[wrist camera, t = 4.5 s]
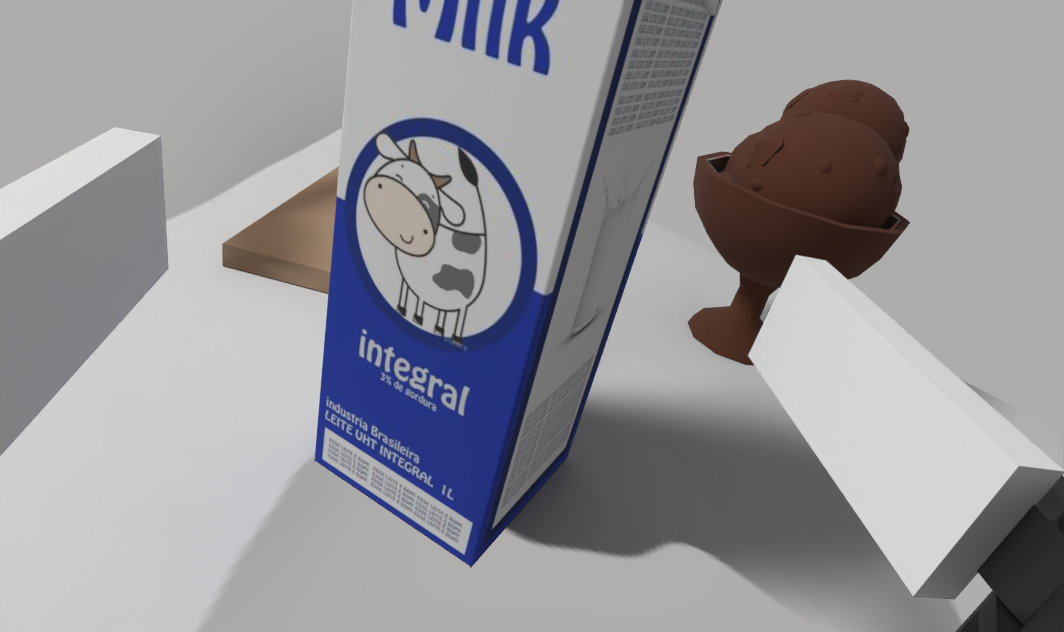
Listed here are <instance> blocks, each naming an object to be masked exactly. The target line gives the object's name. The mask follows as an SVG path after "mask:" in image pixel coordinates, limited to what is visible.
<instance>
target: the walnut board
mask: <svg viewBox="0 0 1064 632" xmlns="http://www.w3.org/2000/svg"><path fill="white" fill-rule="evenodd" d="M338 173H339V167H337V168H336V169H334V170H333V171H331V172H330V173H328V174H327V175H325V176H324V177H322V178H321V179H319V180H318V181H316V182H315V183H313V184H312V185H310V186H309V187H307V188H306V189H304V190H303V191H301V192H299V193H298V194H296V195H295V196H293V197H292V198H290V199H289V200H287V201H286V202H284V203H283V204H281V205H280V206H278V207H277V208H275V209H274V210H272V211H271V212H269V213H268V214H266V215H265V216H263V217H262V218H260V219H259V220H257V221H256V222H254V223H253V224H251V225H250V226H248V227H247V228H245V229H244V230H242V231H241V232H239V233H238V234H236V235H235V236H233V237H232V238H230V239H229V240H227V241H226V242H224V243H223V244H222V245H223V266H227V267H230V268H234V269H238V270H242V271H246V272H249V273H253V274H257V275H261V276H265V277H268V278H272V279H276V280H280V281H284V282H287V283H291V284H295V285H299V286H303V287H306V288H310V289H314V290H318V291H322V292H325V293H329V282H330V270H331V258H332V246H333V234H334V222H335V210H336V198H337V185H338Z"/></svg>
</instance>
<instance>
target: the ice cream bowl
mask: <svg viewBox="0 0 1064 632" xmlns="http://www.w3.org/2000/svg"><path fill="white" fill-rule="evenodd" d="M908 133H909V127H908V125H907V123H906V122H905V121H904V115H903V112H902V110H901V109H900V107H899V106H898V104H897V102H896V101H895V99H894V98H892V97H891V96H890V95H888V94H887V93H885V92H884V91H882V90H881V89H880V88H878V87H876V86H874V85H872V84H869V83H866V82H862V81H857V80H841V81H833V82H828V83H824V84H821V85H818V86H816V87H814V88H810V89H806V90H805V91H803V92H801V93H800V94H799V95H798V96H796V97H795V98H794V99H792V100H791V101H790V102H789V103H788V104H787V106H786V108H785V110H784V112H783V115H782V117H781V119H780V120H779V121H777V122H775V123H773V124H771V125H769V126H766V127H765V128H764V129H763V130H762V131H760V132H758V133H755V134H752V135H749V136H748V137H747V138H746V139H745V140H744V141H742V142H741V143H740V144H739V145H738V146H737V147H736V148H735V149H734V151H733V152H732V153H729V152H718V153H713V154H708V155H703V156H699V157H698V158H697V164H696V171H695V177H694V183H693V185H694V196H695V208H696V210H697V212H698V214H699V217H700V219H701V221H702V223H703V225H704V228H705V230H706V232H707V234H708V236H709V237H710V239H711V241H712V242H713V244H714V246H715V247H716V249H717V250H718V252H719V253H720V254H721V256H722V257H723V258H724V260H725V261H726V262H727V264H729V265H730V266H731V267H733V268H734V269H735V270H737V271H738V272H739V273H740V287H739V289H738V291H737V293H736V295H735V297H734V299H733V301H732V304H731V306H729V307H714V308H703V309H702V310H700V311H699V312H698V313H696V314H695V315H693V317H692V318H691V319H690V320H689V321H688V324H689V327H690V329H691V332H692V334H693V337H694V338H696V339H697V340H698V341H700V342H701V343H703V344H704V345H705V346H707V347H708V348H709V349H711V350H712V351H713V352H715V353H716V354H719V355H722V356H724V357H727V358H730V359H733V360H735V361H738V362H741V363H744V364H753V362H752V361H751V359H750V358H749V356H748V355H749V352H750V350H751V348H752V346H753V344H754V342H755V340H756V338H757V336H758V334H759V331H760V329H761V327H762V325H763V322H762V321H761V319H760V316H761V314H762V311H763V309H764V307H765V304H766V302H767V300H768V297H769V295H771V294H772V293H773V292H774V291H775V290H776V289H777V288H780V287H781V285H782V283H783V281H784V279H785V277H786V275H787V273H788V270H789V268H790V266H791V264H792V262H793V260H794V258H795V256H796V255H799V256H804V257H810V258H815V259H820V260H826V261H827V262H828V263H829V264H830V265H832V266H833V267H834V268H835V269H836V270H837V271H838V272H840V273H841V274H842V275H843V276H844V277H845V278H846V279H847V280H848V279H851V278H854V277H857V276H859V275H860V274H861V273H863V272H864V271H866V270H867V269H868V268H869V267H871V266H872V265H873V264H874V263H876V262H877V261H879V260H880V259H881V258H882V257H883V255H884V254H885V253H886V252H887V251H888V249H889V248H890V247H891V246H892V244H893V243H894V242H895V241H896V240H897V238H898V237H899V236H900V235H901V234H902V232H903V231H904V230H905V229H906V227H907V226H908V224H910V222H909V221H908V220H906V219H905V218H903V217H902V216H901V215H899V214H898V213H897V212H895V209H896V207H897V204H898V201H899V198H900V195H901V189H902V184H901V180H900V175H899V162H900V161H901V160H902V157H903V153H904V149H905V144H906V137H907V136H908ZM753 365H754V364H753Z"/></svg>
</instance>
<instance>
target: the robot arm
mask: <svg viewBox="0 0 1064 632" xmlns="http://www.w3.org/2000/svg"><path fill="white" fill-rule="evenodd" d="M167 270H168V253H167V235H166V217H165V202H164V183H163V165H162V148H161V136H159V135H154V134H148V133H143V132H138V131H133V130H127V129H122V128H117V127H115V128H113V129H111V130H109V131H107V132H105V133H104V134H102V135H100V136H98V137H96V138H94V139H92V140H90V141H89V142H87V143H85V144H83V145H81V146H79V147H77V148H76V149H74V150H72V151H70V152H68V153H66V154H65V155H63V156H61V157H59V158H57V159H55V160H53V161H51V162H50V163H48V164H46V165H44V166H42V167H41V168H38V169H37V170H35V171H33V172H31V173H29V174H27V175H25V176H24V177H22V178H20V179H18V180H17V181H14V182H13V183H11V184H9V185H7V186H5V187H3V188H1V189H0V456H1V455H2V454H3V453H4V451H5V450H6V449H7V448H8V447H9V446H10V445H11V444H12V442H13V441H14V440H15V439H16V438H17V437H18V436H19V435H20V434H21V432H22V431H23V430H24V429H25V428H26V427H27V426H28V425H29V423H30V422H31V421H32V420H33V419H34V418H35V417H36V416H37V415H38V413H39V412H40V411H41V410H42V409H43V408H44V407H45V406H46V405H47V403H48V402H49V401H50V400H51V399H52V398H53V397H54V396H55V394H56V393H57V392H58V391H59V390H60V389H61V388H62V387H63V386H64V384H65V383H66V382H67V381H68V380H69V379H70V378H71V377H72V376H73V374H74V373H75V372H76V371H77V370H78V369H79V368H80V367H81V365H82V364H83V363H84V362H85V361H86V360H87V359H88V358H89V357H90V355H91V354H92V353H93V352H94V351H95V350H96V349H97V348H98V347H99V345H100V344H101V343H102V342H103V341H104V340H105V339H106V338H107V336H108V335H109V334H110V333H111V332H112V331H113V330H114V329H115V328H116V326H117V325H118V324H119V323H120V322H121V321H122V320H123V319H124V318H125V316H126V315H127V314H128V313H129V312H130V311H131V310H132V309H133V307H134V306H135V305H136V304H137V303H138V302H139V301H140V300H141V299H142V297H143V296H144V295H145V294H146V293H147V292H148V291H149V290H150V288H151V287H152V286H153V285H154V284H155V283H156V282H157V281H158V280H159V278H160V277H161V276H162V275H163V274H164V273H165V272H166V271H167ZM748 356H749V358H750V359H751V361H752V362H753V364H754V365H755V367H756V368H757V369H758V371H759V372H760V374H761V375H762V377H763V378H764V380H765V381H766V383H767V384H768V385H769V387H770V388H771V390H772V391H773V393H774V394H775V396H776V397H777V399H778V400H779V401H780V403H781V404H782V406H783V407H784V409H785V410H786V412H787V413H788V415H789V416H790V418H791V419H792V420H793V422H794V423H795V425H796V426H797V428H798V429H799V431H800V432H801V434H802V435H803V436H804V438H805V439H806V441H807V442H808V444H809V445H810V447H811V448H812V450H813V451H814V452H815V454H816V455H817V457H818V458H819V460H820V461H821V463H822V464H823V466H824V467H825V469H826V470H827V471H828V473H829V474H830V476H831V477H832V479H833V480H834V482H835V483H836V485H837V486H838V487H839V489H840V490H841V492H842V493H843V495H844V496H845V498H846V499H847V501H848V502H849V503H850V505H851V506H852V508H853V509H854V511H855V512H856V514H857V515H858V517H859V518H860V520H861V521H862V522H863V524H864V525H865V527H866V528H867V530H868V531H869V533H870V534H871V536H872V537H873V538H874V540H875V541H876V543H877V544H878V546H879V547H880V549H881V550H882V552H883V553H884V554H885V556H886V557H887V559H888V560H889V562H890V563H891V565H892V566H893V568H894V569H895V571H896V572H897V573H898V575H899V576H900V578H901V579H902V581H903V582H904V584H905V585H906V587H907V588H908V589H909V591H910V592H911V594H912V595H913V596H915V597H929V598H943V599H955V598H956V597H957V596H958V595H959V594H960V593H961V591H962V590H963V589H964V588H965V587H966V586H967V585H968V583H969V582H970V581H971V580H972V579H973V578H974V576H975V575H976V574H977V573H979V574H980V575H981V576H982V578H983V579H984V580H985V581H986V583H987V584H988V585H989V586H990V587H991V589H992V590H993V591H992V592H991V593H990V594H989V595H988V596H987V597H986V598H985V600H984V601H983V602H982V603H981V604H980V605H979V606H978V608H977V609H976V610H975V611H974V612H973V613H972V614H971V615H970V616H969V617H968V619H967V620H966V621H965V622H964V623H963V624H962V625H961V626H960V627H959V629H958V630H957V631H956V632H1064V477H1063V476H1062V474H1063V473H1064V470H1063V469H1062V468H1061V467H1059V466H1058V465H1057V464H1056V463H1055V462H1054V461H1053V460H1051V459H1050V458H1049V457H1048V456H1047V455H1046V454H1045V453H1044V452H1042V451H1041V450H1040V449H1039V448H1038V447H1037V446H1036V445H1034V444H1033V443H1032V442H1031V441H1030V440H1029V439H1028V438H1027V437H1025V436H1024V435H1023V434H1022V433H1021V432H1020V431H1019V430H1017V429H1016V428H1015V427H1014V426H1013V425H1012V424H1011V423H1010V422H1008V421H1007V420H1006V419H1005V418H1004V417H1003V416H1002V415H1000V414H999V413H998V412H997V411H996V410H995V409H994V408H993V407H991V406H990V405H989V404H988V403H987V402H986V401H985V400H983V399H982V398H981V397H980V396H979V395H978V394H977V393H976V392H974V391H973V390H972V389H971V388H970V387H969V386H968V385H966V384H965V383H964V382H963V381H962V380H961V379H960V378H959V377H957V376H956V375H955V374H954V373H953V372H952V371H951V370H949V369H948V368H947V367H946V366H945V365H944V364H943V363H941V362H940V361H939V360H938V359H937V358H936V357H935V356H934V355H932V354H931V353H930V352H929V351H928V350H927V349H926V348H924V347H923V346H922V345H921V344H920V343H919V342H918V341H917V340H915V339H914V338H913V337H912V336H911V335H910V334H909V333H908V332H906V331H905V330H904V329H903V328H902V327H901V326H900V325H898V324H897V323H896V322H895V321H894V320H893V319H892V318H891V317H889V316H888V315H887V314H886V313H885V312H884V311H883V310H881V309H880V308H879V307H878V306H877V305H876V304H875V303H874V302H872V301H871V300H870V299H869V298H868V297H867V296H866V295H864V294H863V293H862V292H861V291H860V290H859V289H857V288H856V287H855V286H854V285H853V284H852V283H851V282H850V281H849V280H847V279H846V278H845V277H844V276H843V275H842V274H841V273H840V272H838V271H837V270H836V269H835V268H834V267H833V266H832V265H830V264H829V263H828V262H827V261H826V260H820V259H815V258H810V257H804V256H799V255H796V256H795V258H794V260H793V262H792V264H791V266H790V268H789V270H788V273H787V275H786V277H785V279H784V281H783V283H782V285H781V287H780V289H779V291H778V294H777V296H776V298H775V300H774V302H773V304H772V306H771V308H770V310H769V312H768V315H767V317H766V319H765V321H764V323H763V325H762V327H761V329H760V331H759V334H758V336H757V338H756V340H755V342H754V344H753V346H752V348H751V350H750V352H749V355H748Z"/></svg>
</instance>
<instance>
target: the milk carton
mask: <svg viewBox="0 0 1064 632" xmlns="http://www.w3.org/2000/svg"><path fill="white" fill-rule="evenodd" d="M721 3H722V0H353V4H352V16H351V28H350V41H349V53H348V64H347V77H346V89H345V101H344V113H343V125H342V137H341V149H340V161H339V173H338V185H337V198H336V210H335V222H334V234H333V246H332V258H331V270H330V282H329V294H328V306H327V319H326V331H325V343H324V355H323V367H322V379H321V391H320V403H319V415H318V428H317V440H316V452H315V461H316V462H318V463H320V464H321V465H322V466H324V467H325V468H327V469H328V470H330V471H331V472H333V473H334V474H335V475H337V476H339V477H340V478H341V479H343V480H344V481H346V482H347V483H349V484H350V485H352V486H353V487H355V488H356V489H358V490H359V491H361V492H362V493H364V494H365V495H366V496H368V497H369V498H371V499H372V500H374V501H375V502H377V503H378V504H380V505H381V506H382V507H384V508H386V509H387V510H388V511H390V512H392V513H393V514H394V515H396V516H397V517H399V518H400V519H402V520H403V521H405V522H406V523H408V524H409V525H411V526H412V527H413V528H415V529H416V530H418V531H419V532H421V533H422V534H424V535H425V536H427V537H428V538H430V539H431V540H433V541H434V542H435V543H437V544H438V545H440V546H441V547H443V548H444V549H446V550H447V551H449V552H450V553H452V554H453V555H455V556H456V557H457V558H459V559H460V560H462V561H463V562H465V563H466V564H468V565H470V567H472V566H473V565H474V564H475V562H476V561H477V560H478V559H479V558H480V557H481V556H482V554H483V553H484V552H485V551H486V550H487V549H488V547H489V546H490V545H491V544H492V543H493V542H494V541H495V539H496V538H497V537H498V536H499V535H500V534H501V533H502V531H503V530H504V529H505V528H506V527H507V526H508V525H509V523H510V522H511V521H512V520H513V519H514V518H515V517H516V515H517V514H518V513H519V512H520V511H521V510H522V508H523V507H524V506H525V505H526V504H527V503H528V502H529V500H530V499H531V498H532V497H533V496H534V495H535V494H536V492H537V491H538V490H539V489H540V488H541V487H542V486H543V484H544V483H545V482H546V481H547V480H548V479H549V478H550V476H551V475H552V474H553V473H554V472H555V471H556V469H557V468H558V467H559V466H560V465H561V464H562V463H563V461H564V460H565V459H566V458H567V456H568V453H569V450H570V447H571V444H572V441H573V438H574V435H575V433H576V430H577V427H578V424H579V421H580V418H581V415H582V412H583V409H584V406H585V403H586V400H587V397H588V394H589V391H590V388H591V386H592V383H593V380H594V377H595V374H596V371H597V368H598V365H599V362H600V359H601V356H602V353H603V350H604V347H605V344H606V341H607V338H608V336H609V333H610V330H611V327H612V324H613V321H614V318H615V315H616V312H617V309H618V306H619V303H620V300H621V297H622V294H623V291H624V289H625V286H626V283H627V280H628V277H629V274H630V271H631V268H632V265H633V262H634V259H635V256H636V253H637V250H638V247H639V244H640V242H641V239H642V236H643V233H644V230H645V227H646V224H647V221H648V218H649V215H650V212H651V209H652V206H653V203H654V200H655V197H656V195H657V192H658V189H659V186H660V183H661V180H662V177H663V174H664V171H665V168H666V165H667V162H668V159H669V156H670V153H671V150H672V147H673V145H674V142H675V139H676V136H677V133H678V130H679V127H680V124H681V121H682V118H683V115H684V112H685V109H686V106H687V103H688V101H689V97H690V94H691V91H692V89H693V86H694V83H695V80H696V77H697V74H698V71H699V68H700V65H701V62H702V59H703V56H704V54H705V51H706V48H707V45H708V42H709V39H710V36H711V33H712V30H713V27H714V24H715V21H716V18H717V15H718V12H719V9H720V7H721Z"/></svg>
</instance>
